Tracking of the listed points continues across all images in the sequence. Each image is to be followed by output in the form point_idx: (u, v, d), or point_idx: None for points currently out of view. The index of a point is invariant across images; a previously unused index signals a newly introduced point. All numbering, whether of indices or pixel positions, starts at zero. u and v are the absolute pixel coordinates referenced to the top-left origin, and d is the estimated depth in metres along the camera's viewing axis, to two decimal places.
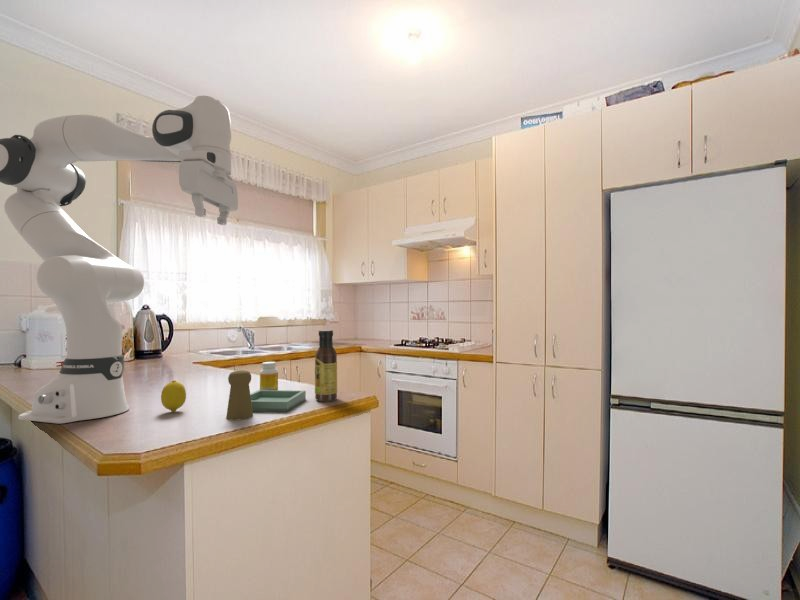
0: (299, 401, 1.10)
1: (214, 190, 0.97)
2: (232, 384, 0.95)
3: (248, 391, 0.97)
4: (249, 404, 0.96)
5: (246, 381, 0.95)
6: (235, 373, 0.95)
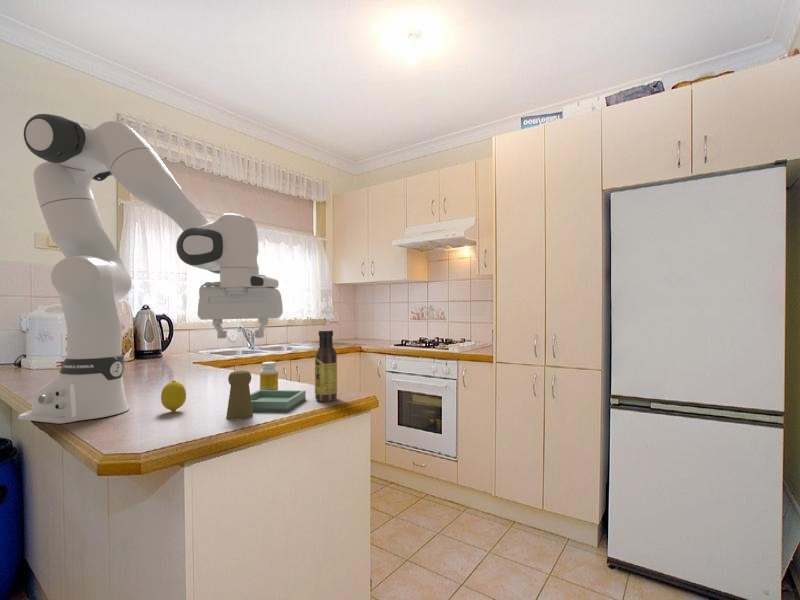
0: (299, 401, 1.10)
1: None
2: (232, 384, 0.95)
3: (248, 391, 0.97)
4: (249, 404, 0.96)
5: (246, 381, 0.95)
6: (235, 373, 0.95)
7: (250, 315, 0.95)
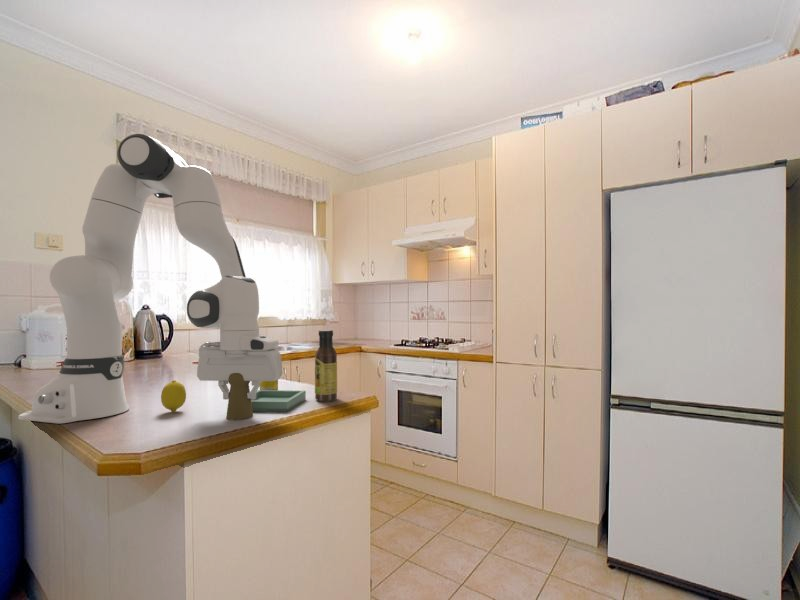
0: (299, 401, 1.10)
1: None
2: (232, 384, 0.95)
3: (248, 391, 0.97)
4: (249, 404, 0.96)
5: (245, 381, 0.95)
6: (235, 373, 0.95)
7: (249, 378, 0.95)
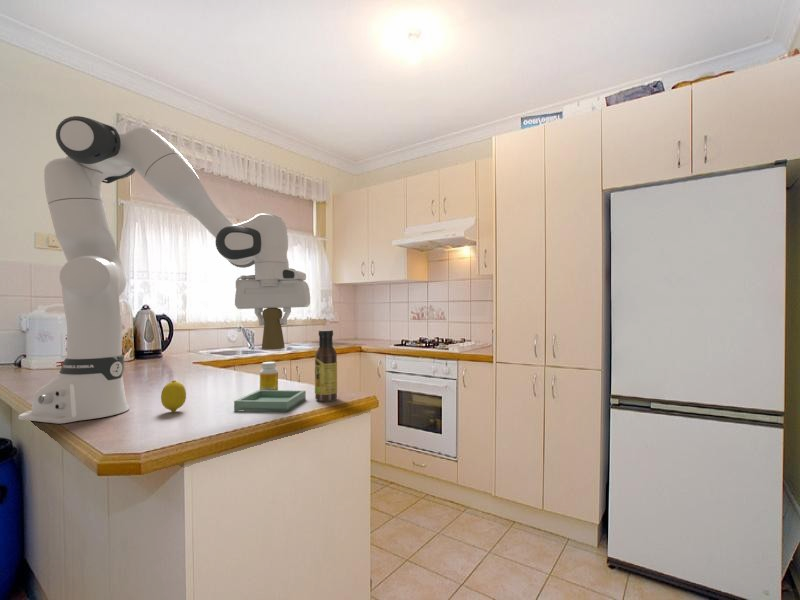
0: (299, 401, 1.10)
1: None
2: (266, 318, 1.07)
3: (280, 325, 1.08)
4: (281, 337, 1.08)
5: (277, 316, 1.07)
6: (268, 309, 1.07)
7: (282, 305, 1.07)
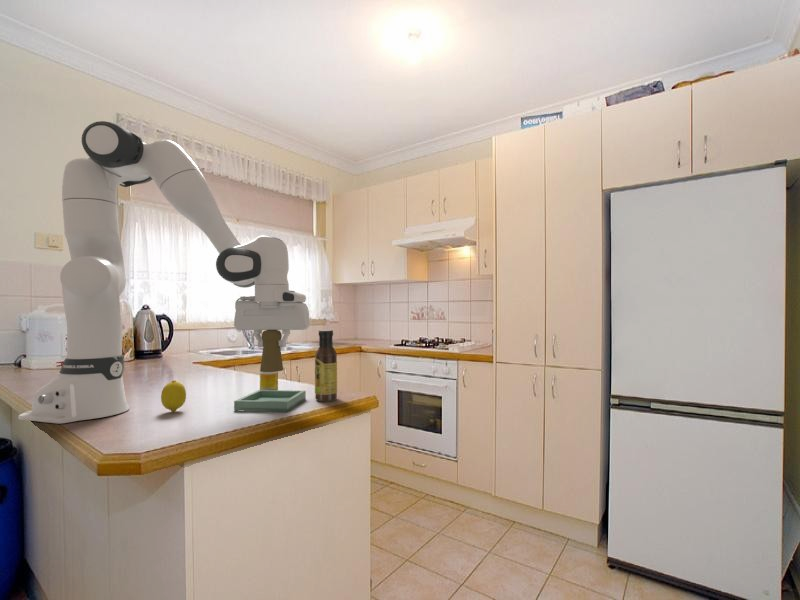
0: (299, 401, 1.10)
1: None
2: (265, 341, 1.07)
3: (279, 348, 1.08)
4: (280, 359, 1.08)
5: (277, 338, 1.07)
6: (267, 331, 1.07)
7: (281, 327, 1.07)
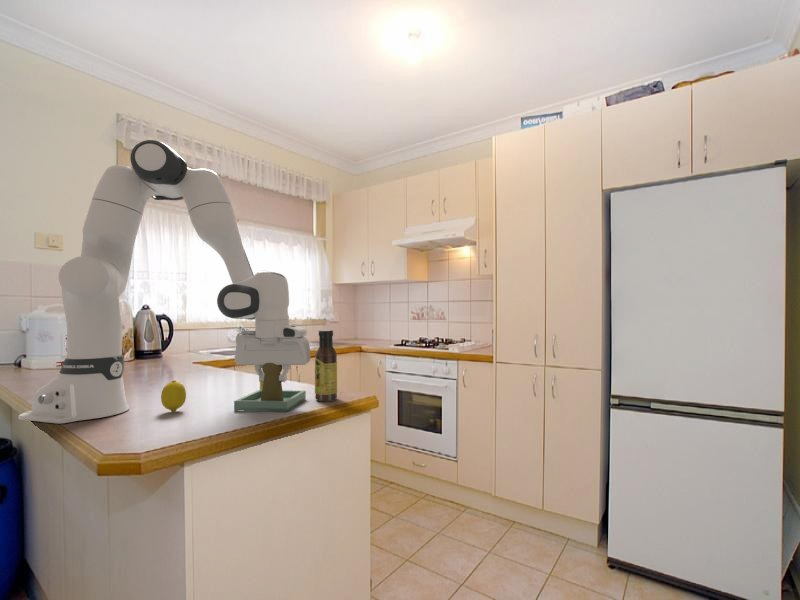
0: (299, 401, 1.10)
1: None
2: (265, 372, 1.07)
3: None
4: (280, 391, 1.08)
5: (277, 370, 1.07)
6: (268, 363, 1.07)
7: (282, 362, 1.07)
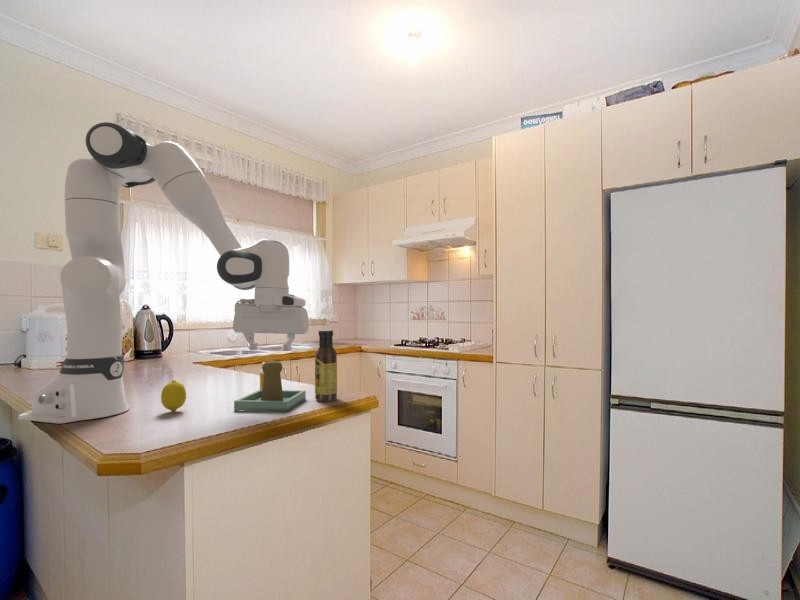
0: (299, 401, 1.10)
1: None
2: (265, 372, 1.07)
3: (279, 379, 1.08)
4: (280, 391, 1.08)
5: (277, 370, 1.07)
6: (268, 363, 1.07)
7: (279, 331, 1.07)
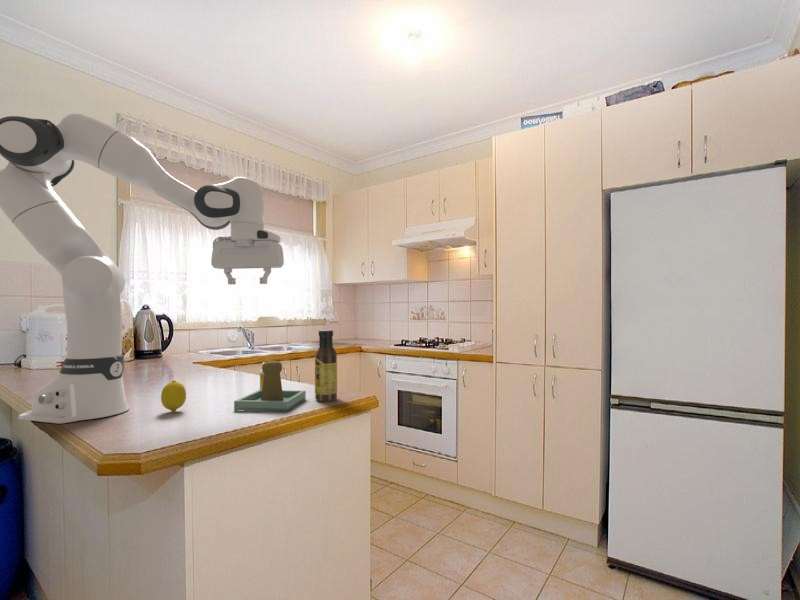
0: (299, 401, 1.10)
1: None
2: (265, 372, 1.07)
3: (279, 379, 1.08)
4: (280, 391, 1.08)
5: (277, 370, 1.07)
6: (268, 363, 1.07)
7: (255, 264, 1.12)
